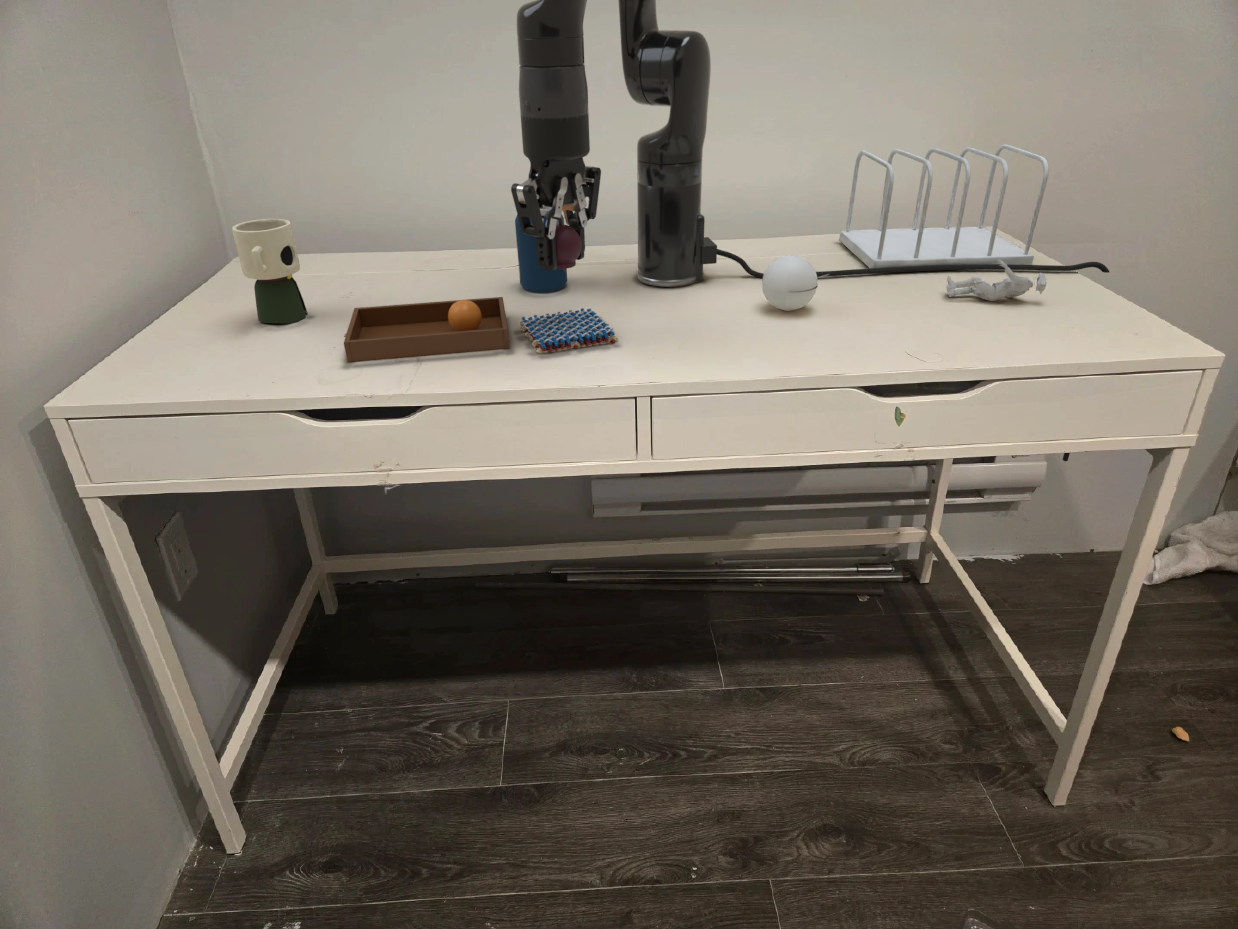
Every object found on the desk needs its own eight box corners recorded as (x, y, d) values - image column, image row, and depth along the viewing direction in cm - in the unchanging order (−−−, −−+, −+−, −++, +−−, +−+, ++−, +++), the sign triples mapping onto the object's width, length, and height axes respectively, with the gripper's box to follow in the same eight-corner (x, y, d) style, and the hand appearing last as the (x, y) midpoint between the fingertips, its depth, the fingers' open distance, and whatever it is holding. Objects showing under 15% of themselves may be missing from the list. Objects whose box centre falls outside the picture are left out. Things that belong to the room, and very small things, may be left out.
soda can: (576, 291, 119) (571, 207, 112) (533, 300, 116) (526, 215, 109) (554, 279, 124) (549, 198, 118) (513, 287, 121) (505, 205, 115)
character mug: (303, 334, 106) (280, 234, 99) (246, 337, 105) (219, 237, 99) (318, 306, 115) (298, 213, 109) (267, 309, 115) (243, 215, 108)
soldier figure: (944, 295, 117) (1034, 271, 114) (953, 325, 115) (1044, 301, 112) (946, 269, 110) (1042, 243, 106) (956, 301, 108) (1053, 275, 105)
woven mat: (592, 319, 109) (592, 304, 108) (620, 347, 100) (620, 331, 99) (517, 330, 106) (515, 315, 105) (538, 360, 97) (537, 344, 96)
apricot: (482, 325, 106) (479, 294, 104) (483, 337, 102) (480, 305, 100) (450, 328, 105) (446, 296, 103) (450, 339, 102) (445, 307, 100)
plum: (579, 258, 100) (577, 212, 97) (584, 269, 96) (583, 221, 93) (540, 260, 100) (537, 214, 97) (544, 272, 96) (541, 224, 93)
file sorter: (872, 273, 123) (887, 165, 115) (838, 242, 138) (849, 145, 130) (1032, 266, 124) (1058, 159, 116) (981, 237, 139) (1001, 140, 131)
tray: (504, 318, 109) (502, 296, 108) (510, 352, 99) (507, 328, 98) (358, 330, 107) (354, 307, 105) (348, 366, 96) (343, 342, 95)
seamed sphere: (773, 321, 107) (777, 266, 103) (751, 303, 113) (755, 250, 109) (842, 313, 109) (849, 259, 105) (818, 296, 115) (823, 244, 111)
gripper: (538, 120, 82) (548, 284, 91) (619, 105, 92) (621, 254, 101) (484, 116, 86) (499, 273, 95) (567, 101, 96) (574, 245, 105)
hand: (562, 262), depth 98 cm, fingers closed on plum, 4 cm apart
